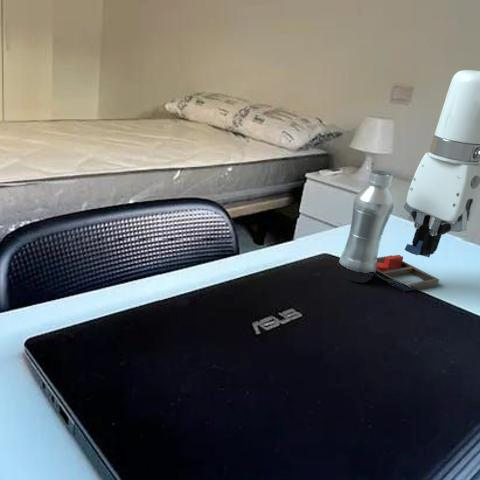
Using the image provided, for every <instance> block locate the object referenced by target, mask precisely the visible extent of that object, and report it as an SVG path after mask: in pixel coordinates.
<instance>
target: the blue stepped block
mask: <svg viewBox="0 0 480 480" xmlns="http://www.w3.org/2000/svg"><path fill="white" fill-rule="evenodd" d="M422 243H423V241H421V240H419V241H418V243H417V245H416V247H415V246H413V245H412V244H409V243H407V244H406V245H405V247H404V251H406V252H408V253H410V254H412V255H415V256H422V257H425V258H426V257H427V258H430V257H431V255H432V254H430V255H424V256H423V255H421V254H420V251H421V246H422Z"/></svg>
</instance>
